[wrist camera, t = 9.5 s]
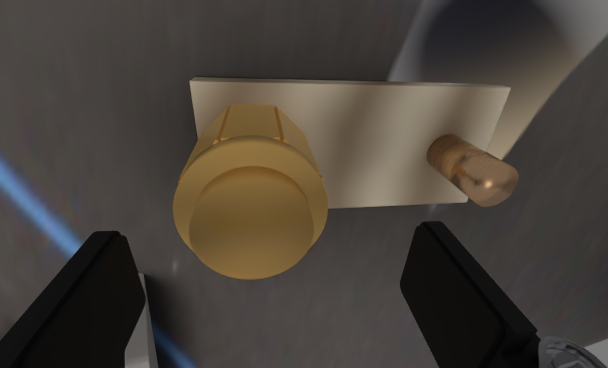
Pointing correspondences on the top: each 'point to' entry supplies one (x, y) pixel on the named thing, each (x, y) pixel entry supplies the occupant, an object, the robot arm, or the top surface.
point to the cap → (250, 194)
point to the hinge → (141, 341)
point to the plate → (368, 130)
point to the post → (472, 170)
